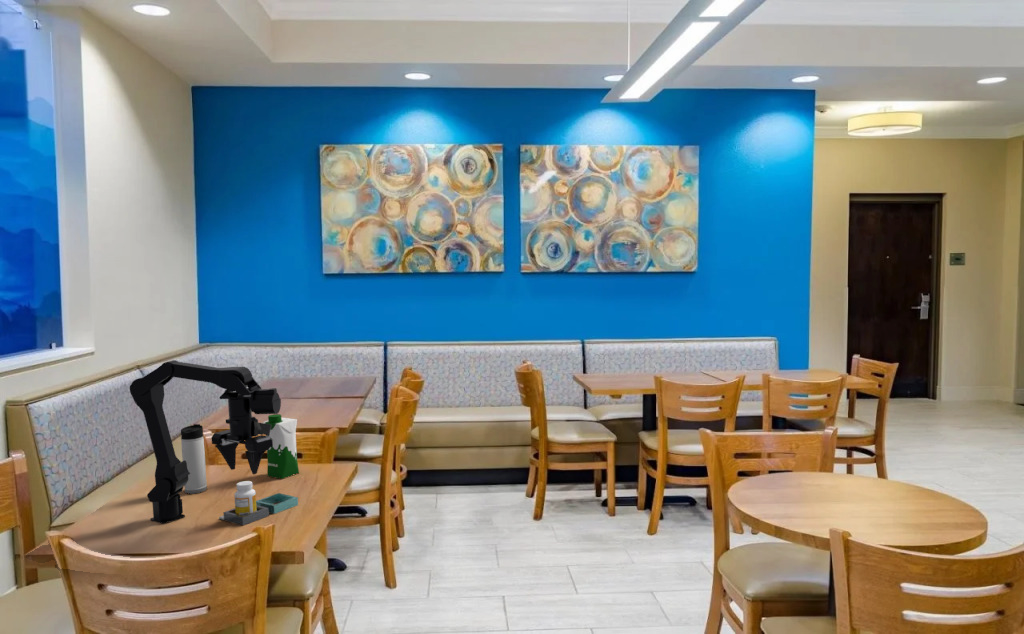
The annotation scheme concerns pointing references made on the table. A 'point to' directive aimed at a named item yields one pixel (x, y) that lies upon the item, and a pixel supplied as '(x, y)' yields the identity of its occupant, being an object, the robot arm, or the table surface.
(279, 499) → the grey and teal tray
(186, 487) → the travel mug
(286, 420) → the milk carton
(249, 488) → the supplement bottle
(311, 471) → the table surface
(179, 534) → the table surface
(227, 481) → the table surface
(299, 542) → the table surface
